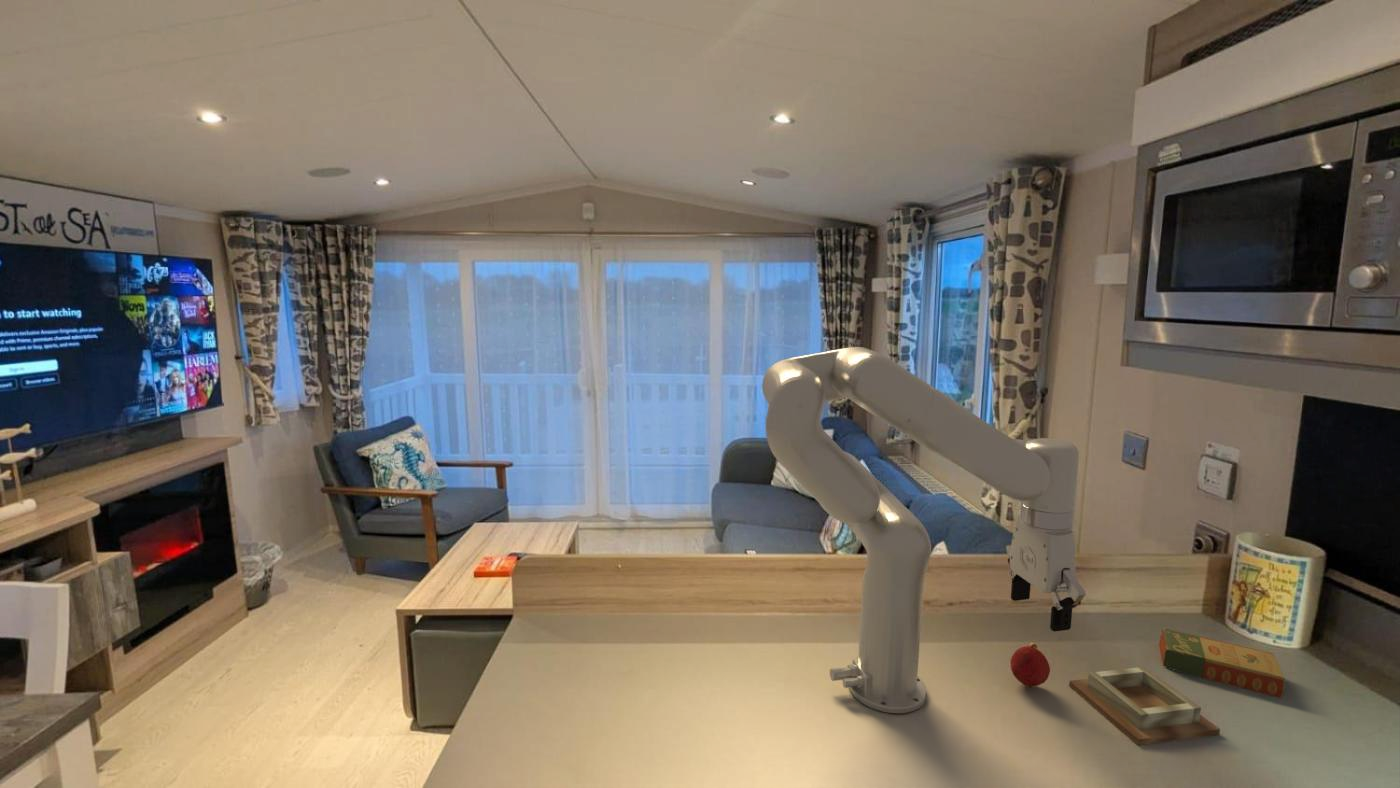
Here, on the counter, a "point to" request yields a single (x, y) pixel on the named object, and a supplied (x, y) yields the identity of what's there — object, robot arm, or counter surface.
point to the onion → (1030, 666)
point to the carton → (1222, 662)
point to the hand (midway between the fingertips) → (1039, 613)
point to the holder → (1143, 706)
